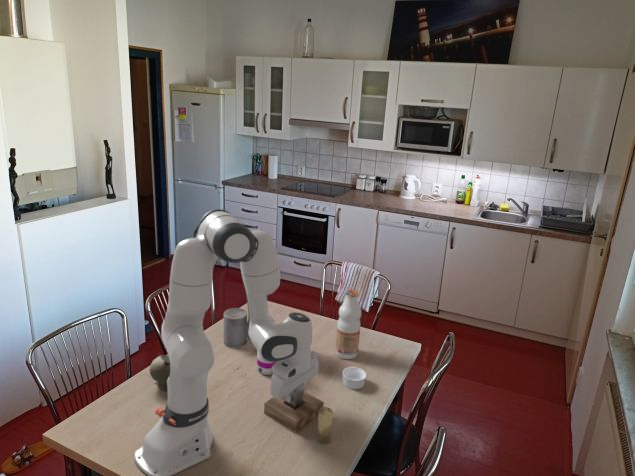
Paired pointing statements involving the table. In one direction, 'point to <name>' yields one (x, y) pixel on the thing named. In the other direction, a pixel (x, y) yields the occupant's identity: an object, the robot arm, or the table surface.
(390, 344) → the table surface
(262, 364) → the supplement can
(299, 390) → the square bit
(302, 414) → the socket block
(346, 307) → the fruit juice
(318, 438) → the round bit
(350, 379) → the ramekin
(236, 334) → the pillar candle
